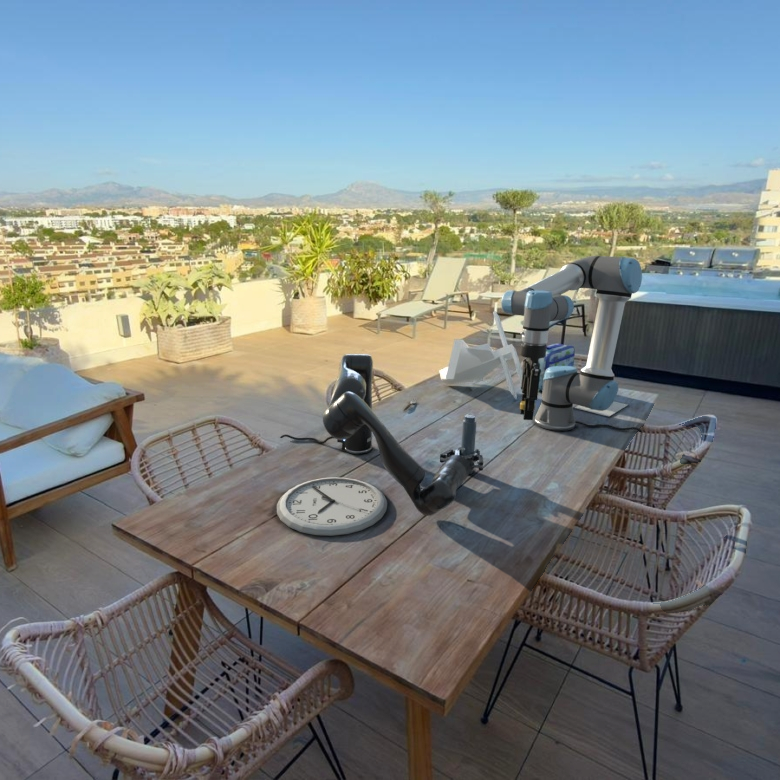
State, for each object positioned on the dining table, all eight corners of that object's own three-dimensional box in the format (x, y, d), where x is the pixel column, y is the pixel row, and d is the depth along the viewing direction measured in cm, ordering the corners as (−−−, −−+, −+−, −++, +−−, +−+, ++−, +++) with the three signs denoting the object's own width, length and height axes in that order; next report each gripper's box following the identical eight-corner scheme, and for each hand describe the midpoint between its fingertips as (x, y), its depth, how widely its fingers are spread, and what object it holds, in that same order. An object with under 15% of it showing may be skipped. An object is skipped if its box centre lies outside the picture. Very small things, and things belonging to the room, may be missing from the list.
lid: (517, 408, 162) (517, 403, 161) (523, 405, 165) (523, 399, 165) (531, 411, 159) (531, 406, 159) (537, 408, 163) (537, 402, 162)
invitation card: (608, 416, 214) (573, 407, 224) (608, 416, 214) (573, 408, 224) (628, 404, 229) (594, 396, 238) (628, 405, 229) (594, 397, 238)
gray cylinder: (467, 467, 167) (470, 413, 161) (475, 472, 164) (479, 417, 158) (457, 470, 165) (460, 415, 159) (465, 475, 162) (469, 419, 156)
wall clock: (392, 527, 129) (268, 531, 127) (391, 533, 130) (269, 537, 127) (383, 473, 158) (282, 475, 155) (383, 478, 158) (282, 480, 156)
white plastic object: (461, 429, 252) (437, 405, 227) (444, 352, 274) (420, 323, 250) (535, 404, 240) (518, 377, 215) (510, 326, 262) (492, 293, 237)
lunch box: (547, 395, 239) (552, 351, 233) (526, 390, 247) (530, 347, 240) (574, 384, 257) (579, 343, 251) (554, 380, 264) (558, 339, 258)
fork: (400, 411, 216) (400, 406, 215) (412, 399, 230) (412, 395, 230) (406, 412, 215) (406, 407, 215) (418, 400, 230) (418, 396, 229)
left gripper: (478, 465, 146) (493, 443, 161) (430, 455, 152) (449, 435, 167) (476, 489, 148) (491, 465, 163) (429, 479, 154) (447, 457, 169)
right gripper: (515, 337, 165) (509, 407, 172) (527, 349, 148) (519, 426, 155) (539, 338, 165) (532, 408, 171) (554, 350, 148) (545, 427, 155)
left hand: (469, 450), depth 165 cm, fingers closed on gray cylinder, 4 cm apart
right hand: (526, 416), depth 163 cm, fingers closed on lid, 4 cm apart
